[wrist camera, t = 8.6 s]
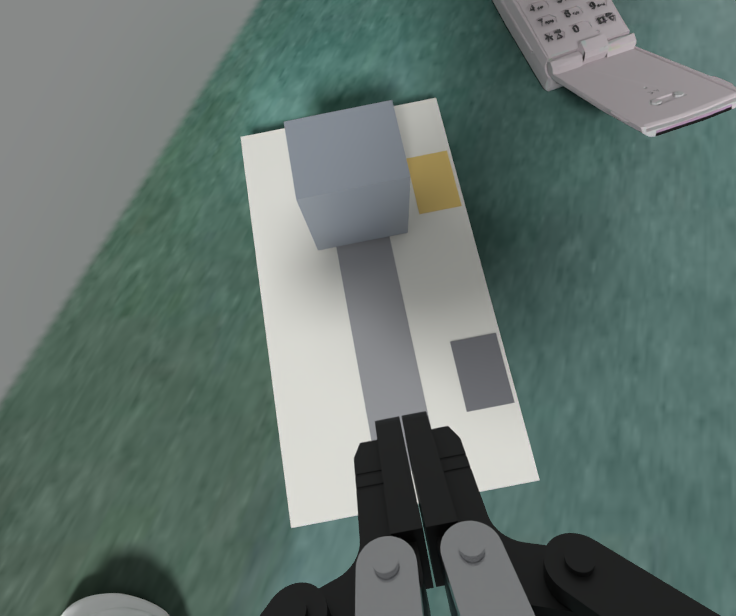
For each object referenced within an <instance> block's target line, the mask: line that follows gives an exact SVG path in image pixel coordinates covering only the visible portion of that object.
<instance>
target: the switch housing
mask: <svg viewBox="0 0 736 616" xmlns="http://www.w3.org/2000/svg"><path fill="white" fill-rule="evenodd" d="M394 110H395V114H396V118H397V122H398V127H399V131H400V135H401V139H402V143H403V147H404V152H405V156H406V160H407V164H408V168H409V172H410V198H409V219H408V233H404V234H399V235H394V236H389V237H384V238H378V239H373V240H368V241H363V242H358V243H353V244H348V245H343V246H338V247H333V248H328V249H323V250H318V249H317V247H316V245H315V242H314V240H313V238H312V235H311V233H310V231H309V228H308V226H307V224H306V221H305V219H304V217H303V214H302V212H301V210H300V207H299V205H298V203H297V200H296V195H295V189H294V183H293V177H292V171H291V164H290V158H289V152H288V146H287V139H286V133H285V128H283V129H278V130H273V131H268V132H263V133H258V134H253V135H248V136H243V137H241V143H242V151H243V159H244V167H245V174H246V182H247V190H248V198H249V205H250V213H251V221H252V228H253V236H254V244H255V252H256V259H257V267H258V275H259V283H260V290H261V298H262V306H263V313H264V321H265V329H266V337H267V344H268V352H269V360H270V367H271V375H272V383H273V391H274V398H275V406H276V414H277V422H278V429H279V437H280V445H281V452H282V460H283V468H284V476H285V483H286V491H287V499H288V507H289V514H290V522H291V528H294V527H299V526H304V525H309V524H315V523H320V522H325V521H330V520H335V519H340V518H346V517H351V516H356V515H358V508H357V495H356V482H355V468H354V456H355V454H356V451H357V449H358V446H359V444H360V443H362V442H367V441H372V440H377V434H376V427H375V421H377V420H382V419H387V418H392V417H397V416H399V418H400V422H401V427H402V432H403V437H404V441H405V446H406V451H407V456H408V460H409V455H408V449H407V444H406V439H405V433H404V428H403V422H402V417H401V416H402V415H407V414H412V413H418V412H423V411H426V412H427V416H428V419H429V423H430V426H431V429H434V428H439V427H445V426H449V427H450V428H451V429H452V430H453V431H454V432H455V433H456V434H457V435H458V436H459V437H460V439H461V441H462V444H463V447H464V450H465V453H466V456H467V458H468V461H469V464H470V468H471V470H472V472H473V475H474V478H475V481H476V484H477V486H478V489H479V492H481V491H486V490H491V489H496V488H501V487H507V486H512V485H517V484H522V483H527V482H533V481H538V480H539V476H538V472H537V468H536V465H535V461H534V457H533V454H532V450H531V446H530V443H529V439H528V435H527V432H526V428H525V424H524V421H523V417H522V413H521V409H520V406H519V402H518V398H517V395H516V391H515V387H514V384H513V380H512V376H511V373H510V369H509V365H508V362H507V358H506V354H505V350H504V347H503V343H502V339H501V336H500V332H499V328H498V325H497V321H496V317H495V314H494V310H493V306H492V303H491V299H490V295H489V291H488V288H487V284H486V280H485V277H484V273H483V269H482V266H481V262H480V258H479V255H478V251H477V247H476V243H475V240H474V236H473V232H472V229H471V225H470V221H469V218H468V214H467V210H466V207H465V203H464V199H463V196H462V192H461V188H460V184H459V181H458V177H457V173H456V170H455V166H454V162H453V159H452V155H451V151H450V148H449V144H448V140H447V137H446V133H445V129H444V125H443V122H442V118H441V114H440V111H439V107H438V103H437V100H436V98H432V99H427V100H422V101H417V102H412V103H407V104H402V105H397V106H394ZM409 465H410V460H409ZM410 470H411V465H410ZM411 475H412V470H411ZM412 480H413V484H414V479H413V475H412ZM414 489H415V484H414ZM415 494H416V489H415ZM416 499H417V503H418V498H417V494H416Z"/></svg>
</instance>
